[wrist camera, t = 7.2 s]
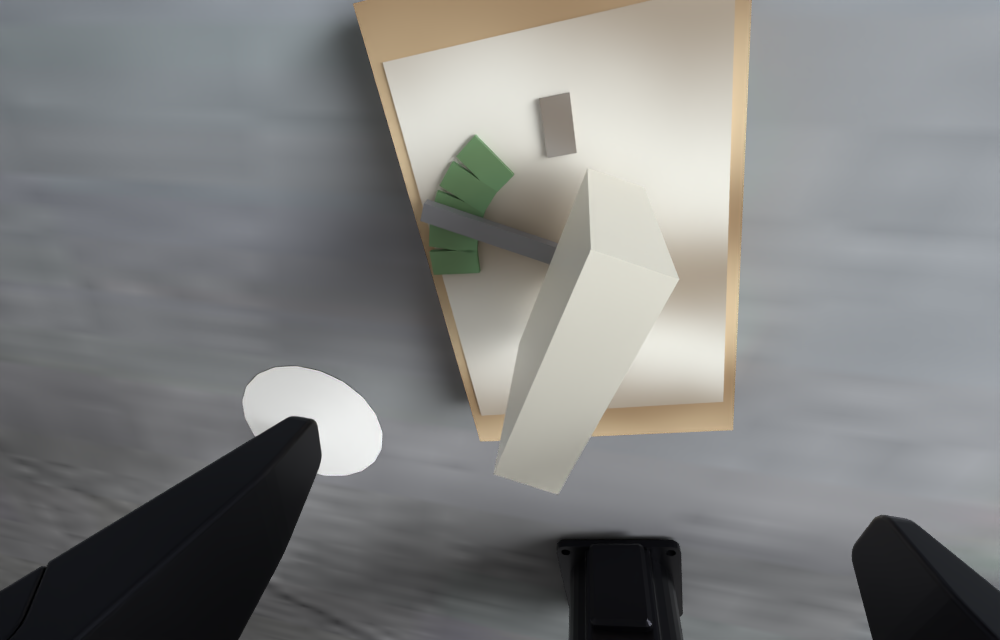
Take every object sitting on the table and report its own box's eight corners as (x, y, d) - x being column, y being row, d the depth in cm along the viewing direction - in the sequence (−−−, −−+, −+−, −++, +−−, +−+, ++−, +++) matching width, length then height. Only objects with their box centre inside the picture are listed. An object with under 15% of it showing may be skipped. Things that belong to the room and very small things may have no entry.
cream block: (639, 174, 14) (679, 279, 8) (566, 336, 17) (558, 494, 12) (448, 109, 14) (354, 169, 8) (409, 285, 17) (321, 418, 11)
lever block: (717, 388, 21) (735, 435, 18) (489, 403, 23) (479, 446, 21) (727, -83, 13) (760, -106, 11) (384, 6, 15) (348, 3, 13)
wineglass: (351, 501, 28) (7, 1213, 11) (212, 423, 27) (-441, 1128, 10) (420, 426, 24) (56, 1335, 8) (263, 328, 23) (-681, 1230, 6)
